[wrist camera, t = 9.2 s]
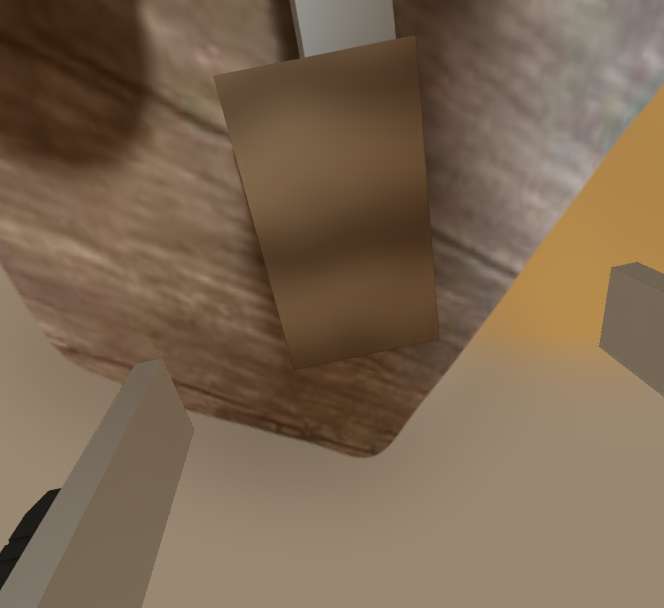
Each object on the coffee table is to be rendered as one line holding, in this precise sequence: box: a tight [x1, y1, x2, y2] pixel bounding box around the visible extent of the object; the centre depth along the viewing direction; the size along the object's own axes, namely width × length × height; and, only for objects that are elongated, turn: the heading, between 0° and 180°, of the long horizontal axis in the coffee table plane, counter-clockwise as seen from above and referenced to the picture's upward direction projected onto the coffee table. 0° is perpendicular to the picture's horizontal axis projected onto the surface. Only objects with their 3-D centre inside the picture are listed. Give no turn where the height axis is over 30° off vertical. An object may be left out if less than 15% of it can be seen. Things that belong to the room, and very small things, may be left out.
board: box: [213, 35, 439, 370], centre depth 20 cm, size 14×8×2 cm, turn 11°
